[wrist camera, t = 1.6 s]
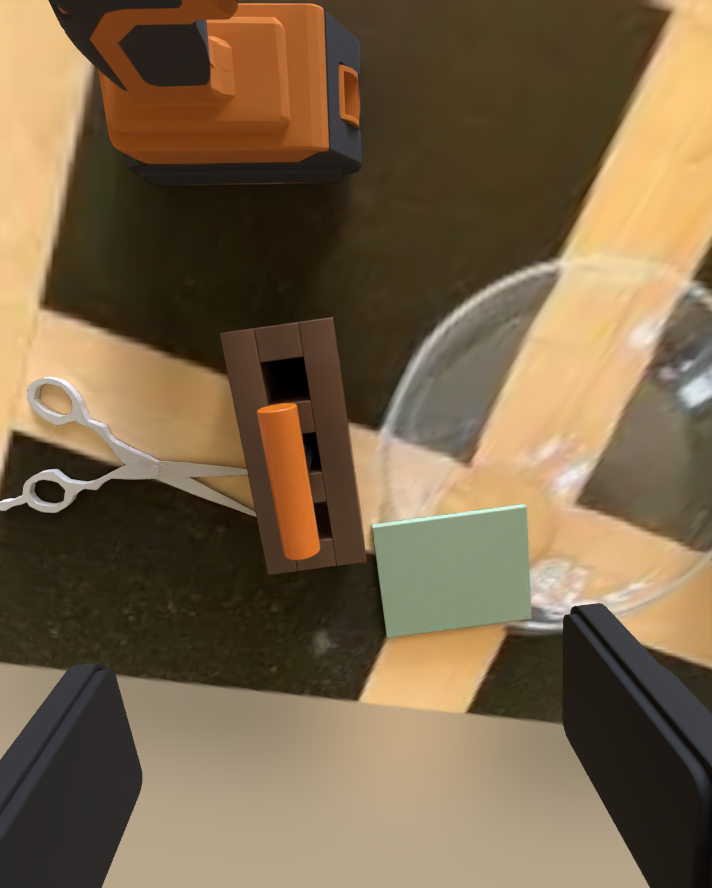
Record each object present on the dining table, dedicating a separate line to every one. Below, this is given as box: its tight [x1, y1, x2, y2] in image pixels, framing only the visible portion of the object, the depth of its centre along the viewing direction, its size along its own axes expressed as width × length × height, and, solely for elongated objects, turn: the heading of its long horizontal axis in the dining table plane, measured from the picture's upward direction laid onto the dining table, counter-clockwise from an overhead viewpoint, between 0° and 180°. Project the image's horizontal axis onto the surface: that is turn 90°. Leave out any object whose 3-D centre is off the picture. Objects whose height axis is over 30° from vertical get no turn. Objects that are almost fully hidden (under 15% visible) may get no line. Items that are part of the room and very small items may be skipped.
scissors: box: [0, 377, 256, 517], centre depth 36 cm, size 11×1×20 cm
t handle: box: [257, 403, 320, 560], centre depth 30 cm, size 2×8×12 cm, turn 8°
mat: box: [372, 504, 531, 638], centre depth 39 cm, size 12×10×1 cm
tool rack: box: [220, 317, 367, 575], centre depth 33 cm, size 7×16×6 cm, turn 8°
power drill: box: [49, 0, 362, 186], centre depth 19 cm, size 22×7×25 cm, turn 92°
